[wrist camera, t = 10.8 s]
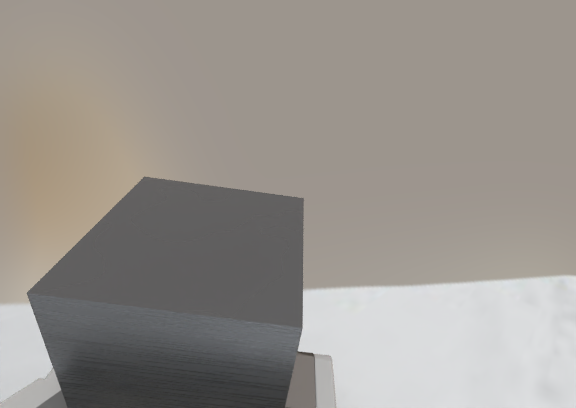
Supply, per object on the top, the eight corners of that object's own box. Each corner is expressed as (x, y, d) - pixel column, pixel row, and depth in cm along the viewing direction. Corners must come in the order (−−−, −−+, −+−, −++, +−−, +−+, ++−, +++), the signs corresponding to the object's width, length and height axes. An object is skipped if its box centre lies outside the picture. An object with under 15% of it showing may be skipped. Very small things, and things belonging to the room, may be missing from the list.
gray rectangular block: (123, 565, 11) (26, 293, 5) (168, 430, 14) (144, 177, 8) (247, 578, 11) (302, 327, 5) (261, 441, 14) (303, 198, 8)
